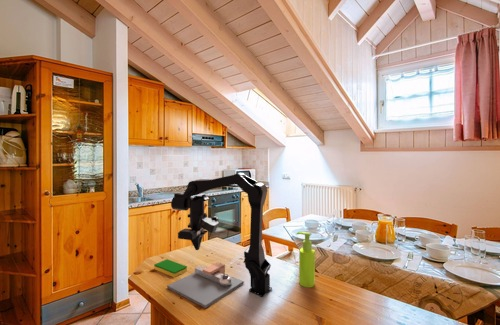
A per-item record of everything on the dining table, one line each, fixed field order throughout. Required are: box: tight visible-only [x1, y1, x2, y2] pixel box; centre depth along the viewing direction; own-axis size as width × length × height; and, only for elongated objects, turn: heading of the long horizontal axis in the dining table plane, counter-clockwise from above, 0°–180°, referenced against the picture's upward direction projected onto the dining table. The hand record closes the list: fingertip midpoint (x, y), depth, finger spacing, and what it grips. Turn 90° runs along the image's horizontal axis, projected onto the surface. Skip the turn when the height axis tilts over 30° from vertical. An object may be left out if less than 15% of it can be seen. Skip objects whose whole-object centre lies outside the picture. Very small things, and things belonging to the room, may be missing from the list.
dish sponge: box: [153, 258, 188, 278], centre depth 113 cm, size 7×14×2 cm, turn 55°
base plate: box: [166, 266, 244, 309], centre depth 100 cm, size 21×20×1 cm
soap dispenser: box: [296, 230, 316, 288], centre depth 101 cm, size 6×7×20 cm
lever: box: [194, 265, 233, 287], centre depth 103 cm, size 18×5×3 cm, turn 53°
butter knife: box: [229, 253, 244, 266], centre depth 118 cm, size 1×27×3 cm
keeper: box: [203, 261, 226, 275], centre depth 104 cm, size 4×8×4 cm, turn 143°
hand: (197, 249), depth 104 cm, fingers closed
